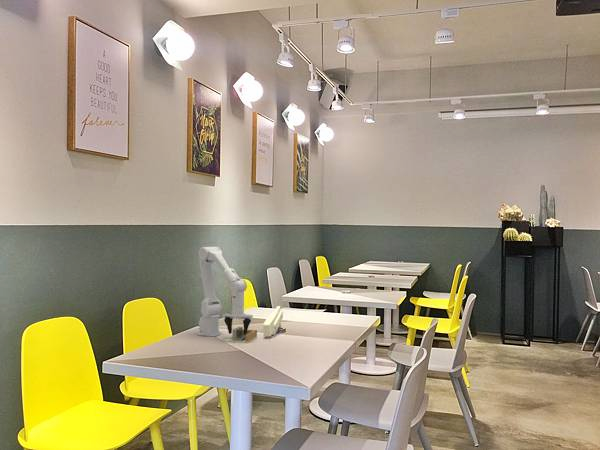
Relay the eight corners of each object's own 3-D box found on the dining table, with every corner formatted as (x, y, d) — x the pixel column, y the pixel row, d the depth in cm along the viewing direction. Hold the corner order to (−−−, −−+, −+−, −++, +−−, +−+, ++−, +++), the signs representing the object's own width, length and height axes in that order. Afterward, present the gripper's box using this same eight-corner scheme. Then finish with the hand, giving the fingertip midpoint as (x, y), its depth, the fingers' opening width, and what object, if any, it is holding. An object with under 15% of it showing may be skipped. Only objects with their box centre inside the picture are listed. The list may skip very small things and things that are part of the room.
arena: (224, 341, 238) (224, 333, 238) (233, 336, 250) (233, 328, 250) (248, 343, 235) (248, 335, 235) (256, 337, 247) (256, 330, 247)
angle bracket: (238, 336, 245) (238, 326, 245) (248, 337, 244) (248, 327, 244) (232, 340, 238) (232, 329, 238) (242, 341, 236) (242, 330, 236)
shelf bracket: (284, 328, 270) (284, 306, 268) (272, 348, 246) (271, 324, 244) (275, 327, 272) (274, 305, 269) (262, 348, 248) (260, 323, 245)
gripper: (220, 305, 240) (220, 334, 240) (249, 307, 236) (249, 336, 236) (226, 303, 246) (226, 331, 246) (254, 305, 243) (254, 333, 243)
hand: (237, 333), depth 242 cm, fingers open, 7 cm apart
